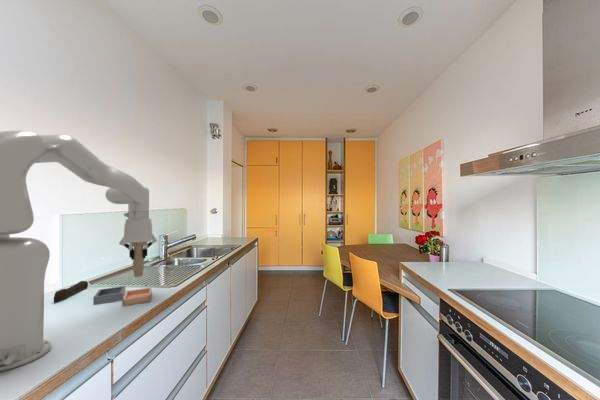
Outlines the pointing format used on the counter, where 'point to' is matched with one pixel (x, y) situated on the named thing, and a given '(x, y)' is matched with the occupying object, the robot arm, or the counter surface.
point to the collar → (109, 295)
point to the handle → (138, 259)
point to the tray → (137, 296)
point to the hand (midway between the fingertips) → (138, 258)
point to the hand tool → (69, 291)
